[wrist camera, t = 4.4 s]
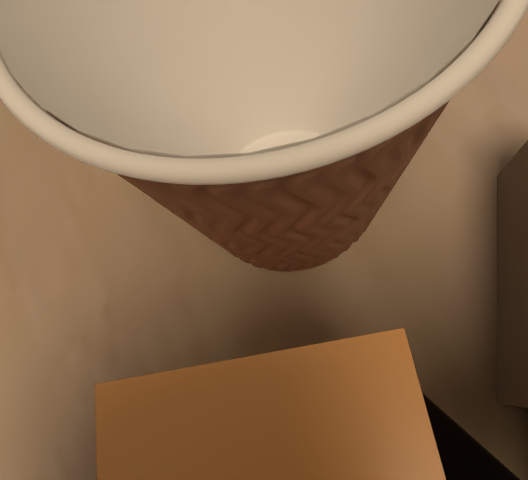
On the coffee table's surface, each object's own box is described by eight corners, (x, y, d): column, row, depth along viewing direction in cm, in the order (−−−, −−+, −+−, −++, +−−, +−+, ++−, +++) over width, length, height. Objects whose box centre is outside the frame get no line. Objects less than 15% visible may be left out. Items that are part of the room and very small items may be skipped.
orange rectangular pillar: (394, 514, 14) (527, 774, 5) (249, 535, 14) (103, 815, 5) (358, 361, 16) (404, 327, 6) (230, 384, 16) (94, 384, 7)
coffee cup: (460, 176, 18) (688, -177, 7) (306, 367, 16) (258, 334, 5) (277, 65, 21) (220, -298, 10) (134, 216, 19) (-131, -12, 8)
